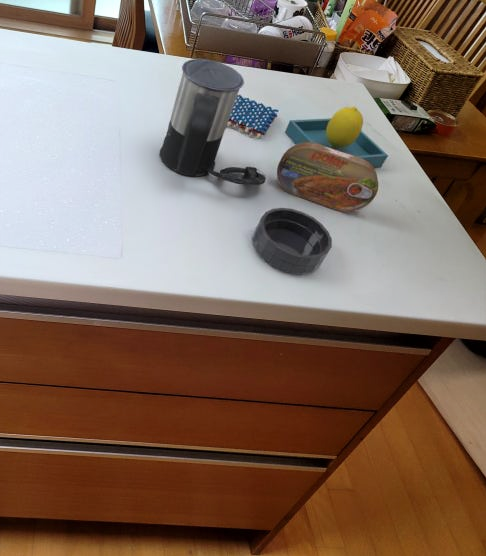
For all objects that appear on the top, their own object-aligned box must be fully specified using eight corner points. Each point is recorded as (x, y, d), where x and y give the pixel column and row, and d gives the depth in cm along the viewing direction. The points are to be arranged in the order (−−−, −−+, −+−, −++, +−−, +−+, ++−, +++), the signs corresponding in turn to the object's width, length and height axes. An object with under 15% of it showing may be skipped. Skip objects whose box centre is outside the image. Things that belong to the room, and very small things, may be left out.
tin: (268, 186, 87) (289, 141, 81) (271, 176, 90) (292, 131, 84) (361, 219, 85) (389, 176, 79) (362, 208, 87) (389, 165, 81)
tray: (341, 128, 105) (347, 117, 103) (381, 167, 97) (388, 155, 96) (284, 132, 100) (289, 120, 98) (321, 172, 93) (328, 160, 91)
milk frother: (155, 140, 91) (176, 54, 80) (243, 148, 94) (276, 66, 83) (169, 195, 82) (195, 105, 71) (267, 201, 84) (307, 116, 74)
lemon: (355, 152, 98) (377, 112, 93) (335, 159, 96) (357, 118, 90) (331, 136, 101) (352, 96, 95) (312, 142, 98) (332, 101, 93)
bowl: (296, 222, 82) (305, 204, 80) (334, 270, 76) (346, 252, 73) (239, 230, 79) (247, 211, 76) (274, 280, 73) (285, 262, 70)
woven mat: (224, 97, 106) (228, 88, 104) (276, 118, 103) (280, 108, 102) (206, 119, 99) (209, 109, 97) (261, 142, 96) (265, 132, 95)
